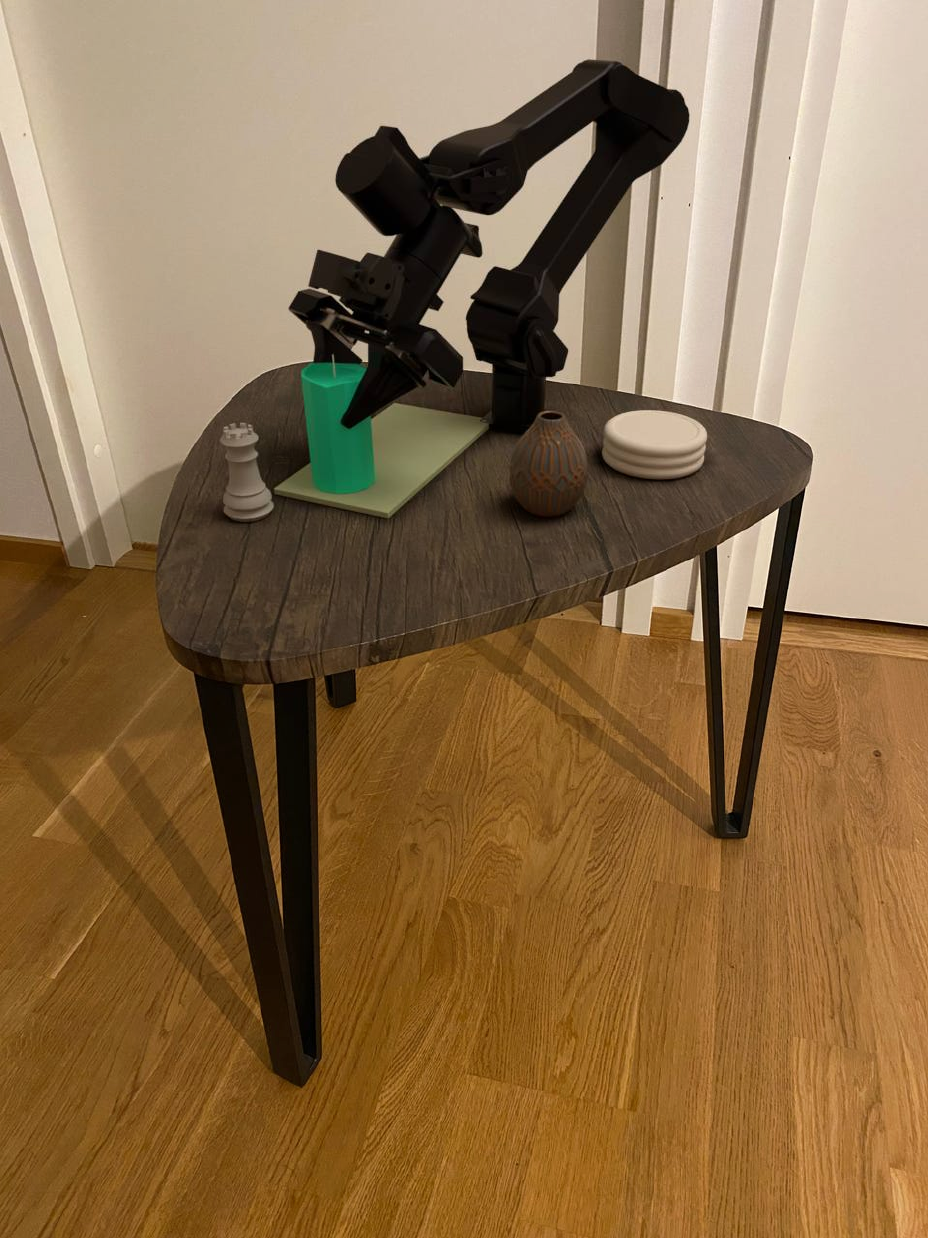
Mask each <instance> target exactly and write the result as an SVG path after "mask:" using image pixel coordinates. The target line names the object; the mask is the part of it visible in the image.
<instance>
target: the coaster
mask: <svg viewBox="0 0 928 1238" xmlns="http://www.w3.org/2000/svg"><path fill="white" fill-rule="evenodd" d="M603 435H604V436H603V440H602V446H603V447H602V449H601V455H602V458H603V460H604V462H605V463H606V464H607V465H608V466H609V467H610V468H612V469H614V470H615V471H617V472H619V473H621V474H624V475H627V476H630V477H635V478H640V479H647V480H674V479H680V478H685V477H687V476H690V475H692V474H694V473H696V472H697V471H698V470H699V469H701V468H702V466H703V465H704V461H705V452H706V449H707V447H706V443H707V440H708V432H707V430H706V428H705V427H704V426H703V425H702V423H700V422H699V421H698V420H696V419H694V418H692V417H690V416H686V415H684V414H680V413H677V412H671V411H666V410H655V409H653V410H652V409H649V410H648V409H644V410H643V409H642V410H631V411H627V412H623V413H620V414H617V415H615V416H613V417H612V418H610V419H609V420H608V421H607V422H606V423H605V426H604V428H603Z"/></svg>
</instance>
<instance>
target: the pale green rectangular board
mask: <svg viewBox="0 0 928 1238" xmlns="http://www.w3.org/2000/svg"><path fill="white" fill-rule="evenodd" d="M482 418H483V417H479V416H474V415H468V414H462V413H455V412H449V411H443V410H439V409H433V408H432V409H431V408H427V407H421V406H416V405H415V406H414V405H408V404H403V403H396V402H394V403H392V404H391V405H390V406H388V407H387V408H385V409H384V410H382V411H381V412H379V413H378V414H377V415H375V416H374V417H373V418H371V426H372V440H373V454H374V468H375V482H374V483H373V484H372V485H371V486H370V487H368V488H366V489H363V490H360V491H357V492H354V493H343V494H334V493H328V492H323V491H321V490H319V489H318V488H316V487H315V486H313V479H312V470H311V462H310V463H308V464H307V465H305V466H304V467H302V468H301V469H300V470H298V471H297V472H295V473H294V474H292V475H291V476H290V477H287V479H285V480H284V481H283V482H280V484H278V485H277V486H275V487H274V488H273V493H274V495H277V496H281V497H285V498H291V499H296V500H299V501H303V502H304V501H305V502H308V503H309V502H310V503H313V504H318V505H324V506H327V507H332V508H337V509H342V510H346V511H351V512H356V513H360V514H365V515H369V516H374V517H379V518H383V519H390V518H391V517H392V516H393V515H394V514H396V512H397V511H399V510H400V509H401V508H402V507H403V506H404V505H405V504H407V502H408V501H410V500H411V499H412V498H413V497H414V496H415V495H417V494H418V493H419V492H420V491H421V490H422V489H423V488H424V487H425V486H427V485H428V484H429V483H430V482H431V481H432V480H433V479H434V478H435V477H437V476H438V475H439V474H440V473H441V472H442V471H443V470H444V469H446V467H448V466H449V465H450V464H451V463H452V462H453V461H454V460H456V458H458V457H459V456H460V455H461V454H462V453H463V452H465V451H466V450H467V449H468V448H469V447H470V446H471V445H472V444H473V443H475V442H476V441H477V440H478V439H479V438H480V437H481V436H483V434H485V433H486V432H487V431H488V430H489V429H490V428H491V427H489V424H488V423H485V422H486V420H485V419H486V418H485V419H484V418H483V420H482V421H481V422H480V420H481V419H482ZM491 420H492V419H491ZM483 422H484V423H483ZM487 422H488V421H487ZM489 422H490V421H489Z"/></svg>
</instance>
